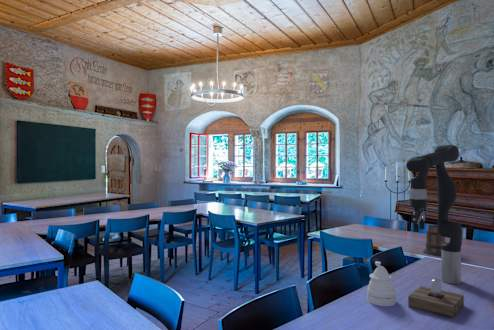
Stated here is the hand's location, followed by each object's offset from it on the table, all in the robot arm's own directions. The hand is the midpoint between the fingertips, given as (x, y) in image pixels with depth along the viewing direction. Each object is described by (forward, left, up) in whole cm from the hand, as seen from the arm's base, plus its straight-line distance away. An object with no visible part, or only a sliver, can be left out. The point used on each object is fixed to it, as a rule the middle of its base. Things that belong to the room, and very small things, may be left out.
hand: (419, 230), depth 171 cm
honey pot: (+20, -11, -32) cm, 40 cm away
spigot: (+10, +10, -31) cm, 34 cm away
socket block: (+10, +10, -32) cm, 35 cm away
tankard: (-95, -18, -32) cm, 102 cm away
